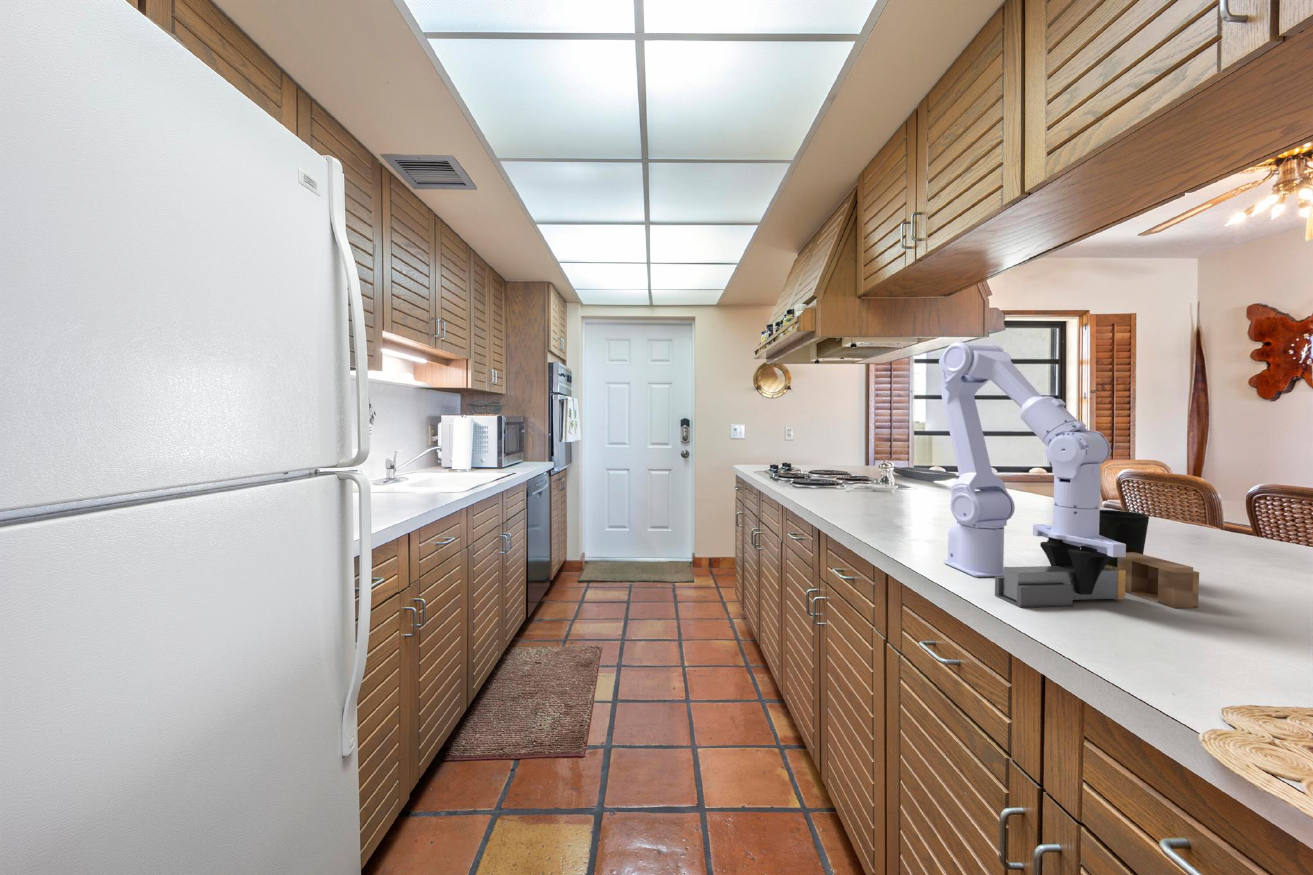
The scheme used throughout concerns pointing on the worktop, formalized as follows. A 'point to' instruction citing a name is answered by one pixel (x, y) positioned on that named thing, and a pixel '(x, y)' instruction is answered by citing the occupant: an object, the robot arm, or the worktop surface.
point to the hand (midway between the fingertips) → (1073, 589)
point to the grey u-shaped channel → (1037, 595)
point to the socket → (1160, 580)
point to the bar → (1065, 580)
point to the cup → (1124, 530)
